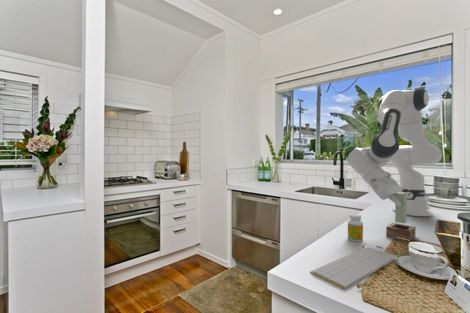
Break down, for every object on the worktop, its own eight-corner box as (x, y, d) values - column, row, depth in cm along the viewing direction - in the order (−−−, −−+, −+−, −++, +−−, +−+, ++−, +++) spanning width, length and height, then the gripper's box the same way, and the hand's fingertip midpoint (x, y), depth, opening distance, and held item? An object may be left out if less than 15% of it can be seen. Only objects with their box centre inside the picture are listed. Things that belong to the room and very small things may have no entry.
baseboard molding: (305, 272, 70) (345, 292, 60) (305, 262, 70) (345, 281, 60) (360, 248, 88) (397, 260, 78) (360, 240, 87) (397, 251, 78)
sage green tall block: (398, 220, 101) (398, 191, 101) (406, 221, 99) (407, 192, 99) (395, 221, 98) (395, 192, 98) (403, 223, 96) (404, 193, 96)
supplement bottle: (348, 240, 94) (348, 216, 93) (347, 236, 99) (347, 213, 98) (363, 242, 92) (364, 217, 91) (361, 238, 97) (362, 214, 96)
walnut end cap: (393, 231, 105) (393, 222, 105) (415, 236, 99) (415, 226, 99) (386, 236, 99) (386, 226, 99) (409, 241, 93) (409, 231, 93)
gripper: (374, 175, 97) (402, 202, 89) (390, 172, 110) (415, 196, 103) (362, 184, 100) (388, 212, 93) (379, 181, 114) (403, 205, 106)
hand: (402, 204), depth 98 cm, fingers closed on sage green tall block, 4 cm apart
